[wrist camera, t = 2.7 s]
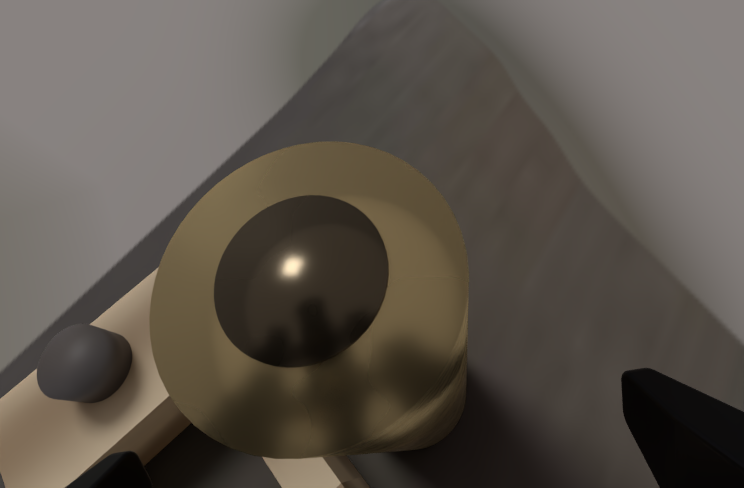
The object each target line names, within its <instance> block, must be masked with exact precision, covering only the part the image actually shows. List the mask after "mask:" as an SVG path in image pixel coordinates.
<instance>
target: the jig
mask: <svg viewBox="0 0 744 488" xmlns="http://www.w3.org/2000/svg"><path fill="white" fill-rule="evenodd" d="M158 268H159V267H158ZM158 268H157V269H156V270H155V271H154V272H152V273H151V274H150V275H149V276H148V277H146V278H145V279H144V280H143V281H142V282H140V283H139V284H138V285H137V286H136V287H134V288H133V289H132V290H131V291H130V292H128V293H127V294H126V295H125V296H124V297H122V298H121V299H120V300H119V301H118V302H116V303H115V304H114V305H113V306H112V307H110V308H109V309H108V310H107V311H106V312H104V313H103V314H102V315H101V316H100V317H98V318H97V319H96V320H95V321H94V322H92V323H91V324H84V323H82V324H75V325H72V326H69V327H67V328H65V329H64V330H62V331H61V332H59V333H58V334H57V335H56V336H55V337H54V338H53V339H52V340H51V341H50V342H49V343H48V345H47V346H46V348H45V349H44V351H43V353H42V355H41V357H40V360H39V363H38V367H37V369H36V370H35V371H33V372H32V373H31V374H30V375H29V376H27V377H26V378H25V379H24V380H23V381H21V382H20V383H19V384H18V385H17V386H15V387H14V388H13V389H12V390H11V391H9V392H8V393H7V394H6V395H5V396H3V397H2V398H1V399H0V472H1V475H2V478H3V481H4V484H5V487H6V488H65V487H66V486H67V485H69V484H70V483H71V482H73V481H74V480H76V479H77V478H78V477H80V476H81V475H82V474H84V473H85V472H87V471H88V470H89V469H91V468H92V467H93V466H95V465H96V464H98V463H99V462H100V461H102V460H103V459H104V458H106V457H107V456H109V455H111V454H113V453H117V452H124V451H134V452H135V453H137V454H138V456H139V458H140V460H141V462H142V463H143V465H144V466H145V465H146V464H147V463H148V462H149V461H150V460H151V459H152V458H153V457H155V456H156V455H157V454H158V453H159V452H160V451H161V450H162V449H163V448H164V447H165V446H167V445H168V444H169V443H170V442H171V441H172V440H173V439H174V438H175V437H176V436H178V435H179V434H180V433H181V432H182V431H183V430H184V429H185V428H186V427H187V426H189V425H190V424H191V422H190V420H189V419H188V418H187V417H186V416H185V415H184V414H183V413H182V412H181V411H180V410H179V409H178V407H177V406H176V404H175V403H174V401H173V400H172V398H171V397H170V396H169V394H168V392H167V390H166V388H165V386H164V384H163V382H162V380H161V378H160V376H159V373H158V370H157V367H156V364H155V360H154V357H153V352H152V346H151V340H150V324H149V314H150V304H151V295H152V291H153V286H154V281H155V277H156V274H157V271H158ZM263 459H264V461H265V462H266V464H267V465H268V467H269V468H270V470H271V471H272V473H273V474H274V476H275V477H276V479H277V480H278V482H279V484H280V485H281V487H282V488H370V487H369V485H368V484H367V483H366V481H365V480H364V479H363V477H362V476H361V475H360V473H359V472H358V471H357V469H356V468H355V467H354V466H353V464H352V463H351V462H350V460H349V459H348V458H347V456H346V455H343V456H330V457H317V458H305V459H273V458H267V457H263Z"/></svg>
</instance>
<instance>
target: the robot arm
mask: <svg viewBox="0 0 744 488" xmlns="http://www.w3.org/2000/svg"><path fill="white" fill-rule="evenodd" d="M621 382H622V401H623V413H624V417H625V420H626V423H627V425H628V427H629V429H630V431H631V433H632V435H633V437H634V439H635V441H636V443H637V444H638V446H639V448H640V450H641V452H642V454H643V456H644V458H645V460H646V462H647V464H648V466H649V468H650V470H651V471H652V473H653V475H654V477H655V479H656V481H657V483H658V485H659V487H660V488H744V412H743V411H741V410H739V409H737V408H735V407H732V406H730V405H728V404H726V403H724V402H722V401H720V400H717V399H715V398H713V397H711V396H709V395H707V394H705V393H702V392H700V391H698V390H696V389H694V388H692V387H690V386H687V385H685V384H683V383H681V382H679V381H677V380H675V379H672V378H670V377H668V376H666V375H664V374H662V373H660V372H657V371H655V370H653V369H650V368H641V369H635V370H629V371H625V372H624V373H623V374H622V378H621ZM65 488H152V481H151V479H150V477H149V475H148V473H147V471H146V469H145V467H144V465H143V463H142V462H141V460H140V458H139V456H138V454H137V453H135V452H134V451H124V452H117V453H113V454H111V455H109V456H107V457H106V458H104V459H103V460H102V461H100V462H99V463H98V464H96V465H95V466H93V467H92V468H91V469H89V470H88V471H87V472H85V473H84V474H82V475H81V476H80V477H78V478H77V479H76V480H74V481H73V482H71V483H70V484H69V485H67V486H66V487H65Z"/></svg>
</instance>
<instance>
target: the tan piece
mask: <svg viewBox="0 0 744 488" xmlns="http://www.w3.org/2000/svg"><path fill="white" fill-rule="evenodd" d="M468 285H469V271H468V262H467V253H466V248H465V245H464V241H463V237H462V233H461V230H460V228H459V226H458V223H457V221H456V218H455V216H454V214H453V212H452V210H451V209H450V207H449V206H448V204H447V202H446V201H445V199H444V197H443V196H442V195H441V194H440V193H439V191H438V190H437V189H436V188H435V186H434V185H433V184H432V183H431V182H430V181H429V180H428V179H427V178H426V177H424V176H423V175H422V174H421V173H420V172H419V171H418V170H416V169H415V168H413V167H412V166H410V165H409V164H407V163H406V162H405V161H403V160H401V159H399V158H397V157H395V156H393V155H391V154H389V153H387V152H384V151H381V150H378V149H375V148H372V147H369V146H364V145H359V144H355V143H346V142H314V143H307V144H300V145H296V146H291V147H287V148H283V149H280V150H277V151H275V152H272V153H269V154H266V155H264V156H262V157H260V158H257V159H255V160H253V161H251V162H249V163H247V164H246V165H244V166H242V167H241V168H239V169H237V170H236V171H234V172H232V173H231V174H230V175H228V176H227V177H226V178H224V179H223V180H222V181H220V182H219V183H218V184H217V185H215V186H214V187H213V188H212V189H211V190H210V191H209V192H208V193H207V194H205V195H204V196H203V197H202V198H201V200H200V201H199V202H198V203H197V204H196V205H195V206H194V207H193V208H192V209H191V211H190V212H189V213H188V215H187V216H186V217H185V219H184V220H183V221H182V223H181V224H180V226H179V227H178V229H177V231H176V232H175V234H174V236H173V237H172V239H171V241H170V242H169V244H168V247H167V249H166V251H165V253H164V255H163V257H162V260H161V263H160V265H159V268H158V271H157V274H156V277H155V281H154V286H153V291H152V295H151V304H150V314H149V324H150V340H151V346H152V352H153V357H154V360H155V364H156V367H157V370H158V373H159V376H160V378H161V380H162V382H163V384H164V386H165V388H166V390H167V392H168V394H169V396H170V397H171V398H172V400H173V401H174V403H175V404H176V406H177V407H178V409H179V410H180V411H181V412H182V413H183V414H184V415H185V416H186V417H187V418H188V419H189V420H190V422H191V423H192V424H193V425H194V426H196V427H197V428H198V429H200V430H201V431H202V432H204V433H205V434H206V435H208V436H209V437H210V438H212V439H214V440H216V441H218V442H220V443H222V444H224V445H226V446H227V447H229V448H232V449H235V450H238V451H241V452H244V453H247V454H250V455H254V456H260V457H267V458H273V459H305V458H317V457H330V456H343V455H356V454H369V453H381V452H394V451H407V450H417V449H423V448H426V447H430V446H432V445H434V444H436V443H438V442H439V441H441V440H442V439H444V438H445V437H446V436H447V435H448V434H449V433H450V432H451V431H452V430H453V429H454V428H455V426H456V425H457V423H458V421H459V420H460V417H461V415H462V413H463V410H464V406H465V401H466V381H467V333H468Z"/></svg>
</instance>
